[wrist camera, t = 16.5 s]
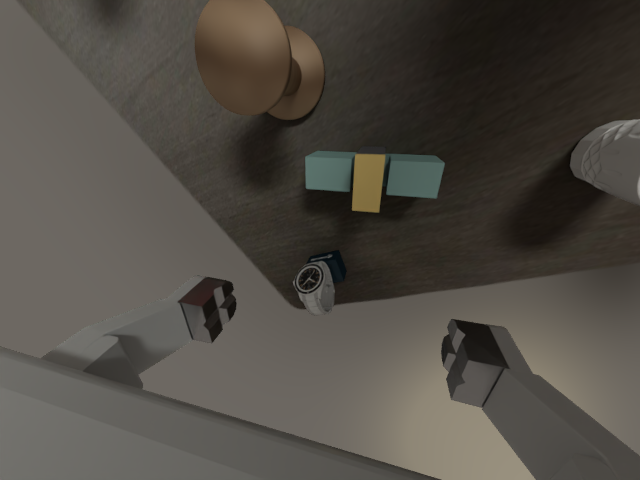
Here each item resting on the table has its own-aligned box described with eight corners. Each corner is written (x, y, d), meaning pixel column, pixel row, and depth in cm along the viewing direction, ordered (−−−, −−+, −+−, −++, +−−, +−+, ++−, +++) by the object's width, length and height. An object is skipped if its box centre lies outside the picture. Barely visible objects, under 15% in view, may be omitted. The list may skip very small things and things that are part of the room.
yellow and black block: (362, 146, 31) (355, 154, 24) (385, 146, 31) (385, 155, 24) (358, 191, 34) (351, 210, 27) (380, 192, 33) (379, 212, 27)
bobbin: (248, 31, 30) (177, -14, 20) (325, 25, 28) (290, -28, 18) (257, 119, 35) (203, 120, 25) (324, 120, 33) (295, 121, 23)
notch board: (317, 150, 35) (305, 156, 30) (435, 155, 32) (444, 163, 26) (317, 178, 37) (305, 188, 32) (428, 185, 33) (436, 198, 28)
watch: (335, 240, 41) (319, 277, 31) (349, 278, 44) (339, 323, 34) (305, 247, 43) (282, 284, 33) (321, 283, 46) (304, 327, 36)
